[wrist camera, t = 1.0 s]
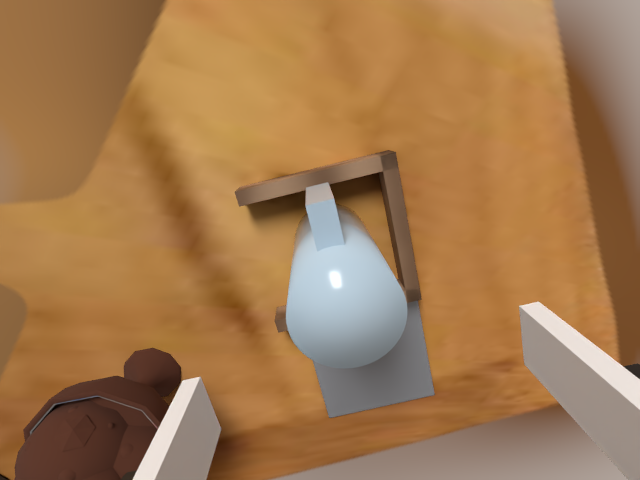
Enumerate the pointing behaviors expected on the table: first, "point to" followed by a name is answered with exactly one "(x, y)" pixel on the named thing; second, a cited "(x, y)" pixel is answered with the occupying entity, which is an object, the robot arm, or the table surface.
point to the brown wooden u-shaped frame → (340, 172)
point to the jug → (341, 288)
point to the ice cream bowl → (100, 423)
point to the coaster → (381, 375)
